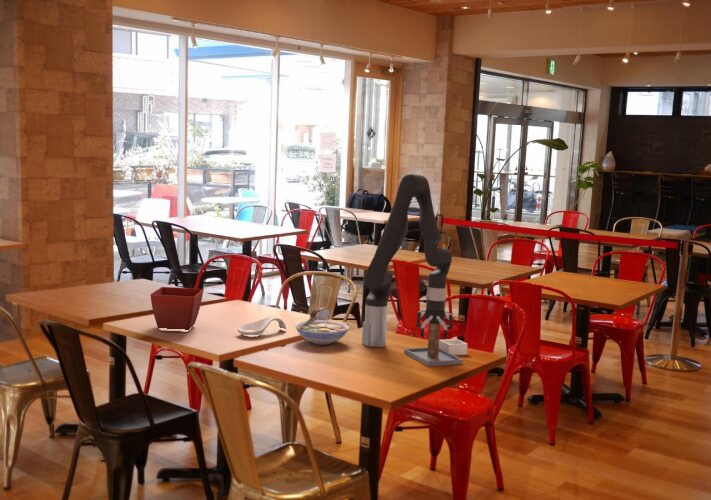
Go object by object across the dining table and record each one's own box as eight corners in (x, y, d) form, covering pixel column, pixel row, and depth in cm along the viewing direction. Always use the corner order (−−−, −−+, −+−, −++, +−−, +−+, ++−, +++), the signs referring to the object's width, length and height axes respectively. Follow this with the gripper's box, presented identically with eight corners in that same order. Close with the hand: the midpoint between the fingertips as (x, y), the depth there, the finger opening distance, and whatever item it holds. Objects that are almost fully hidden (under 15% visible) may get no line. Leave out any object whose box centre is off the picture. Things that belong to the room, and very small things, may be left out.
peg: (431, 358, 320) (433, 323, 318) (427, 356, 323) (429, 322, 321) (438, 357, 321) (440, 323, 319) (434, 355, 324) (436, 321, 322)
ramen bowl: (341, 352, 325) (342, 332, 324) (287, 347, 329) (287, 327, 328) (353, 338, 349) (354, 320, 348) (303, 334, 354) (303, 316, 353)
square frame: (448, 355, 328) (449, 344, 327) (438, 350, 336) (438, 339, 335) (466, 354, 331) (467, 343, 331) (456, 349, 339) (456, 338, 338)
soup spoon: (324, 322, 380) (325, 305, 379) (330, 323, 379) (331, 305, 378) (308, 328, 367) (309, 309, 366) (314, 329, 366) (315, 310, 365)
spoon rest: (248, 341, 338) (248, 324, 337) (231, 335, 346) (232, 319, 345) (291, 333, 355) (292, 318, 354) (274, 328, 363) (275, 313, 362)
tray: (428, 366, 309) (428, 361, 309) (404, 352, 329) (404, 348, 328) (462, 364, 315) (462, 359, 315) (436, 350, 335) (437, 346, 334)
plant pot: (193, 335, 343) (194, 296, 341) (149, 333, 343) (149, 294, 341) (203, 325, 362) (203, 288, 360) (160, 323, 362) (161, 286, 360)
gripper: (454, 298, 322) (451, 337, 324) (418, 295, 323) (416, 334, 325) (454, 301, 314) (451, 341, 316) (417, 298, 316) (415, 338, 318)
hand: (433, 338), depth 321 cm, fingers open, 8 cm apart
